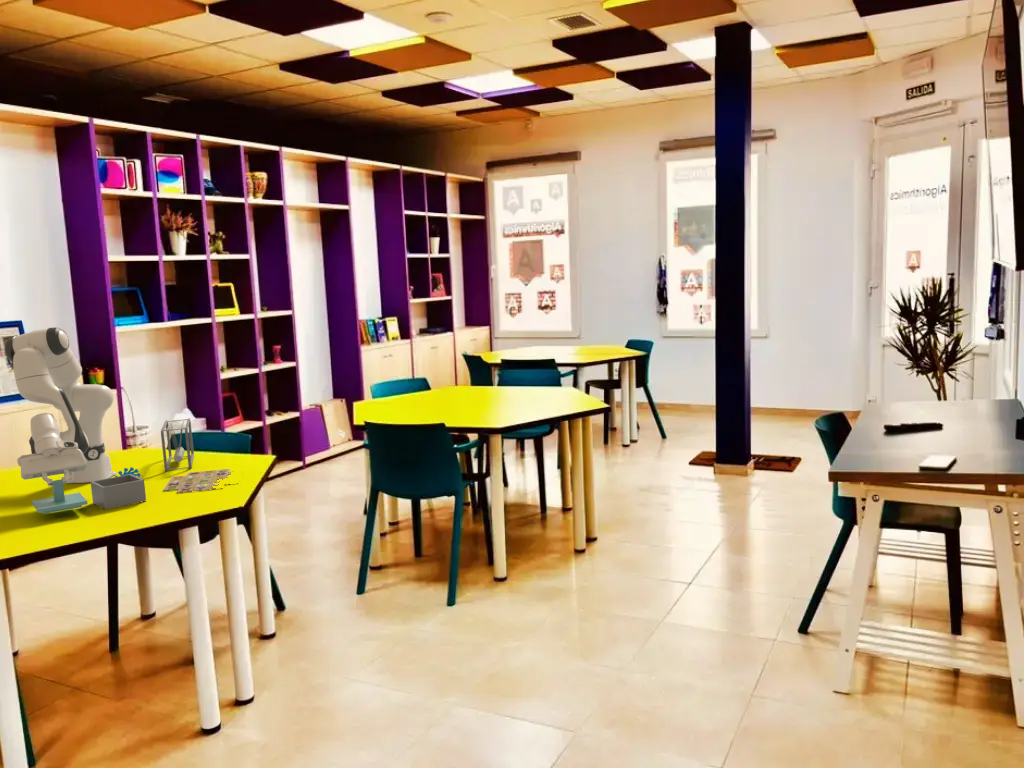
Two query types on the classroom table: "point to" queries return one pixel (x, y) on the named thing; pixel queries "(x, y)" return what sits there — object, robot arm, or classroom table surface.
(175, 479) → the alphabet tiles
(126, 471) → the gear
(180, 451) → the newton's cradle
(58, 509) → the lid
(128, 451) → the classroom table surface
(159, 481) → the classroom table surface
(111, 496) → the grey open box
